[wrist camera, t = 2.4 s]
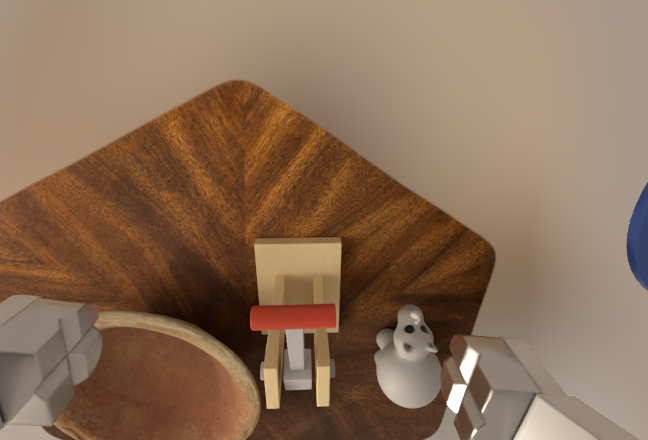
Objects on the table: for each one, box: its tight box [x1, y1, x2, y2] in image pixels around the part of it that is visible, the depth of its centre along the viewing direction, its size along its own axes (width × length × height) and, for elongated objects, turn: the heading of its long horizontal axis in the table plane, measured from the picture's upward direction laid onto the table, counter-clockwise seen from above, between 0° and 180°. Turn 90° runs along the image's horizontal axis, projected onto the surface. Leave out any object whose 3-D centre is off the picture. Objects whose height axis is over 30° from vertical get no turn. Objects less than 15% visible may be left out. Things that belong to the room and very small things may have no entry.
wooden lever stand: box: [254, 237, 342, 409], centre depth 33 cm, size 12×9×14 cm
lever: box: [250, 303, 336, 390], centre depth 25 cm, size 12×5×2 cm, turn 179°
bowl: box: [54, 310, 261, 440], centre depth 38 cm, size 24×24×8 cm
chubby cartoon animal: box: [374, 304, 442, 408], centre depth 39 cm, size 7×12×8 cm, turn 178°
